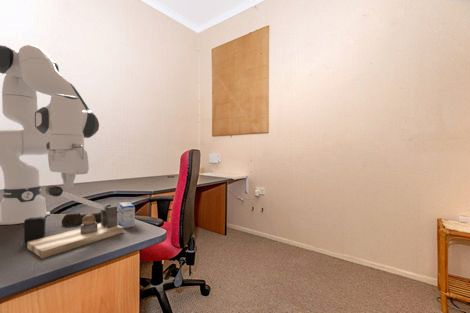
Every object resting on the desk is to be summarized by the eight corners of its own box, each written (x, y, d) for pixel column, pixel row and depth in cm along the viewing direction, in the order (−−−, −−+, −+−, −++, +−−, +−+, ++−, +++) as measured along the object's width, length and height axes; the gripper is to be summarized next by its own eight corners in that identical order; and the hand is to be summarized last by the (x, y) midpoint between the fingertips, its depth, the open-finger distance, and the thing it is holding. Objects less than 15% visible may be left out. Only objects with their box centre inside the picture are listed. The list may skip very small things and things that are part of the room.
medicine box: (118, 223, 94) (117, 202, 93) (129, 221, 97) (129, 201, 96) (123, 228, 88) (122, 206, 87) (135, 226, 91) (134, 204, 90)
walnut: (80, 226, 79) (79, 214, 79) (92, 223, 82) (92, 212, 82) (85, 228, 76) (85, 216, 76) (98, 225, 80) (97, 214, 80)
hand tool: (115, 218, 102) (115, 207, 102) (115, 220, 98) (114, 209, 98) (63, 224, 94) (63, 213, 93) (61, 227, 90) (61, 215, 90)
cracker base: (27, 248, 70) (26, 217, 70) (106, 226, 90) (105, 202, 90) (42, 258, 64) (41, 224, 63) (123, 232, 84) (123, 206, 83)
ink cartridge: (45, 239, 77) (45, 216, 77) (43, 241, 75) (44, 217, 75) (26, 241, 75) (26, 217, 75) (24, 244, 73) (24, 219, 73)
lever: (43, 192, 70) (49, 183, 71) (106, 213, 86) (110, 206, 88) (48, 194, 68) (54, 185, 69) (112, 215, 84) (116, 207, 85)
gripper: (94, 144, 70) (94, 188, 71) (65, 145, 81) (66, 183, 82) (70, 143, 65) (71, 191, 65) (43, 144, 76) (44, 185, 77)
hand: (68, 186), depth 74 cm, fingers closed
